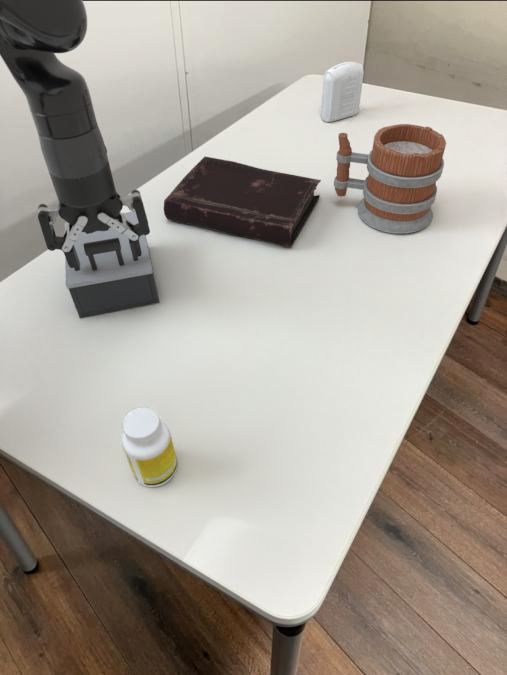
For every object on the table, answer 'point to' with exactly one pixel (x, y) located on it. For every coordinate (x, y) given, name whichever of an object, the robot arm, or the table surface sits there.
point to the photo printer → (341, 91)
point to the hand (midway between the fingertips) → (107, 262)
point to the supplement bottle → (148, 447)
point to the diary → (243, 201)
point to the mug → (395, 177)
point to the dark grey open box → (115, 295)
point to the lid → (107, 257)
